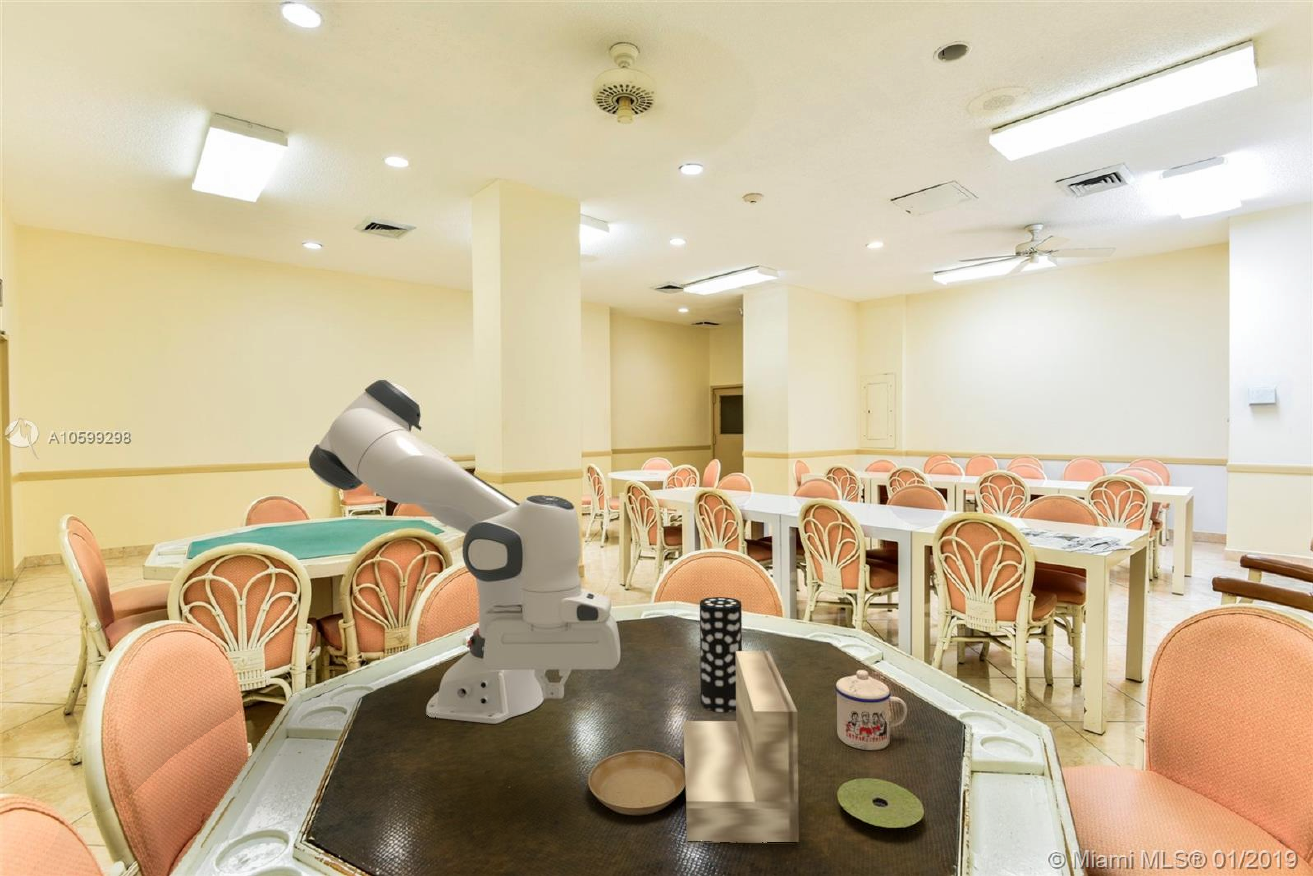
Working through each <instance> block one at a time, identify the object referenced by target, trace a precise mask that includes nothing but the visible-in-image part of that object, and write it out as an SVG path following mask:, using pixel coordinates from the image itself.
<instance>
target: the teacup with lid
mask: <svg viewBox="0 0 1313 876" xmlns="http://www.w3.org/2000/svg"><path fill="white" fill-rule="evenodd" d="M835 690H836V718H837V719H836V724H837V725H836V729H837V730H836V732H837V737H838V739H839V740H840V741H841V742H843V744H846V745H847V746H849V747H853V748H854V749H859V750H864V751H877V750H882V749H885V748H886V747H888V746H889V744H890V741H891V740H890V728H892V727H898V726H901V724H903V723H904V721H905V720H906V719H907V715H908V708H907V704H906V703H905V701H904V700H902V699H901V698H899V697H897V696H891V691H890V689H889V687H888V686H887V684H886V683H884V682H882V681H880V680H877V679H876V678H874V677H872V676H870V675H869V672H868V671H867V670H865V669H859V670H857V671H856V674H852V675H851V676H844V677H842V678H840V679H839V680H837V682H836V685H835ZM890 703H896V704H899V705H900V706H901V712H900V714H899V716H898V717H897V718H896V719H893V720H890Z"/></svg>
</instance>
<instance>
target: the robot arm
mask: <svg viewBox="0 0 1313 876" xmlns="http://www.w3.org/2000/svg"><path fill="white" fill-rule="evenodd" d="M421 417H422V415H421V409H420V405H419V403H417V400H416V399H415V397H414V395H413V394H412V393H411V392H410V391H409V390H408V389H407V388H405V387H404V386H402V385H400V384H399V383H396V382H392V381H387V380H386V379H378V380H377V381H374V382H373V383H371V384H370V385H368V386H367V387H366V388H365V389H364V392H363V393H361V395H359V396H358V397H357V398H356V399H354V400H353V401H352V402H351V403H350V404H349V405H348V406H347V407H346V408H344V410H343V411H342V412H341V413H340V415H338V416H337V417H336V419H334V421H333V422H332V423H331V425H330V427H329V429H328V430H327V432H326V434H325V435H324V436H323V437H322V439H321V441H320V442H319V444H316V445H315V446H314V447H313V449H312V451H310V452H311V453H310V454H309V458H308V462H309V463H308V465H309V469H311V470H312V471H313V473H314V475H315V476H316V477H317V478H318V479H319V480H320V481H321V482H322V483H323V484H325V485H327V486H329V487H332V488H335V489H340V490H343V491H345V492H346V491H350V490H355V489H357V488H359V487H360V486H362V485H363V484H364V485H365V486H366V487H367V488H368V489H369V490H371V491H373V492H374V493H375V494H377V495H379V496H380V497H382V498H384V499H386V500H388V501H390V502H393V503H397V504H402V505H417V506H418V507H420V508H421V509H422V510H424V511H425V512H426V513H428V514H429V515H430V516H432V517H433V518H434V519H436V520H437V521H438V522H439V523H441V524H442V525H445V526H448V527H451V528H453V529H456V530H458V531H460V532H462V533H464V534H465V536H464V539H463V542H462V549H461V550H462V559H463V563H464V565H465V566H466V569H467V570H468V572H469V573H470V574H471V576H473V577H474V578H475V580H476V581H475V582H476V586H477V594H478V627H477V628H476V629H475V630H474V631H473V632H472V635H471V636H469V639H468V641H467V642H466V643H467V646H466V648H468V649H469V652H467V653H466V654H465V655H463V657H461V658H460V659H458V661H456V662H455V663H454V664H452V665H451V667H449V668H448V669H447V671H446V672H445V673H444V675H443V677H442V678H441V681H440V684H439V690H438V691H437V692H436V693H434V694H433V696H432V697H431V698H430V699H429V701H428V703H427V704H426V707H425V708H426V709H425V710H426V711H425V714H426V716H427V715H428V716H429V717H428V716H427V717H428V718H435V717H436V719H445V720H446V719H447V720H455V721H463V722H464V721H465V722H475V723H483V724H499V723H502V722H504V721H506V720H507V719H510V718H512V717H516V716H519V715H523V714H526V713H528V712H531V711H533V710H535V709H536V708H538V707H539V706H540V705H542V703H543V702H544V700H546V699H563V698H564V696H565V683H566V681H567V680H568V678H569V676H570V674H571V672H572V670H614V669H615V668H616V667H617V666H618V664H619V663H620V660H621V642H620V634H619V628H618V623H617V621H616V619H615V617H614V616H613V615H612V614H611V609H612V600H611V598H610V596H607V595H605V594H601V593H597V592H594V591H591V590H588V589H586V588H585V589H584V588H582V580H581V576H580V572H579V561H580V559H581V536H580V534H581V533H580V532H581V531H580V525H579V517H578V513H577V509H576V508H575V505H574V504H573V503H572V502H570V501H569V500H568V499H565V498H563V497H559V496H554V495H543V494H538V495H531V496H528V497H526V498H525V499H523V501H521V503H519V502H517V501H516V500H514V499H513V498H511V497H509V496H508V495H506V493H503V492H502V491H501V490H499V489H497V488H495V487H493V485H491V484H489V483H487V482H486V481H485V480H483V479H481V478H480V477H478V476H477V475H475V474H473V473H471V472H470V471H469V470H467V469H465V468H463V467H462V466H461V465H460V464H458V463H457V462H455V460H453V459H452V458H450V457H449V456H448V455H446V454H445V453H443V452H442V451H440V450H439V449H437V447H434V446H433V445H431V444H429V443H428V442H426V441H424V440H422V439H420V438H418V437H417V436H416V435H415V434H413V433H412V432H411V431H412V427H414V428H415V429H417V430H419V431H420V432H421V431H422V428H423V427H422V426H421V425H420V420H421ZM548 670H558V674H559V676H560V677H562V678H561V680H560V682H549V679H548V678H547V675H546V672H547V671H548Z"/></svg>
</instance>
